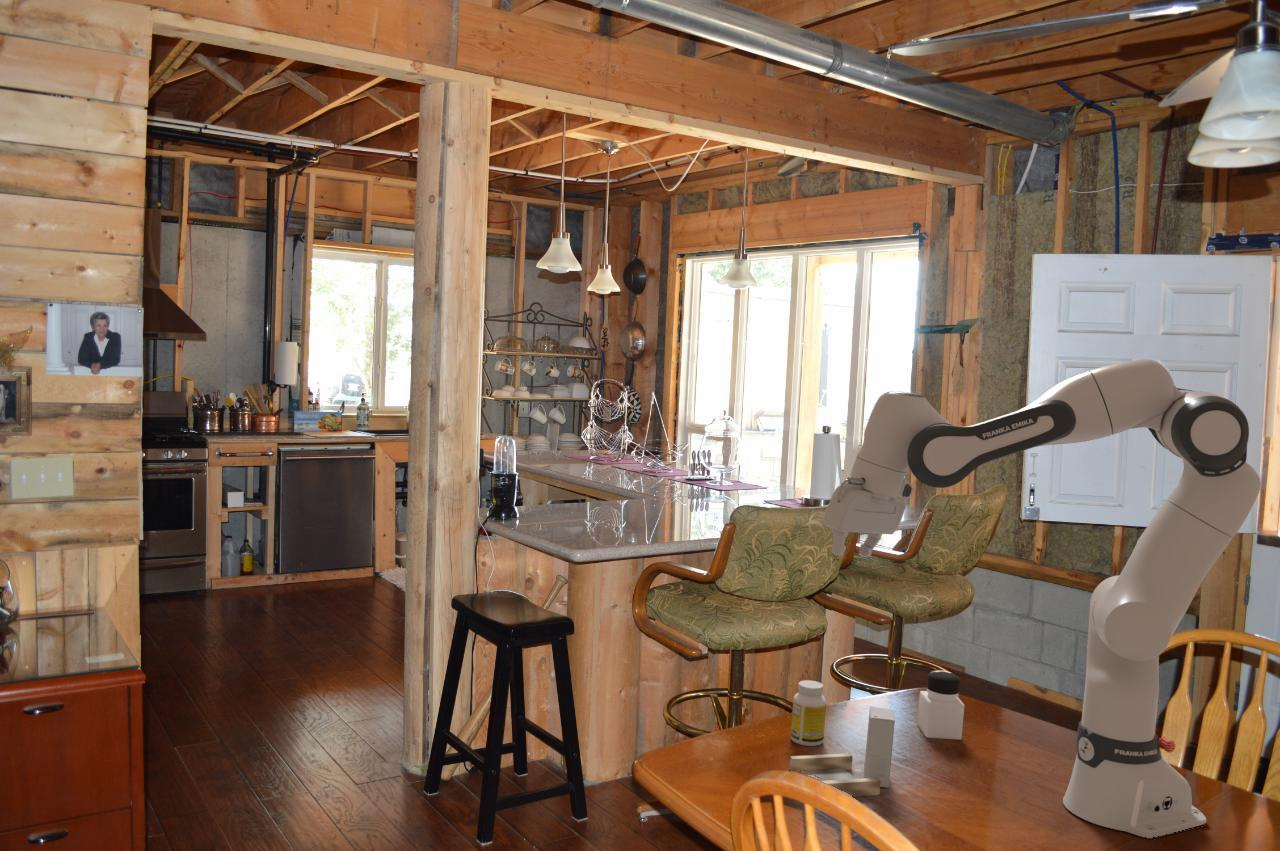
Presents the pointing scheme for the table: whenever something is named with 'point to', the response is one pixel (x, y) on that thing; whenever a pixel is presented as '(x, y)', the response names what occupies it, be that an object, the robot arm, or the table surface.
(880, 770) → the skincare box
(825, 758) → the rest
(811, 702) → the pill bottle
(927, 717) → the medicine bottle
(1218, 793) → the table surface
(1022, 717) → the table surface
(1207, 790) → the table surface
